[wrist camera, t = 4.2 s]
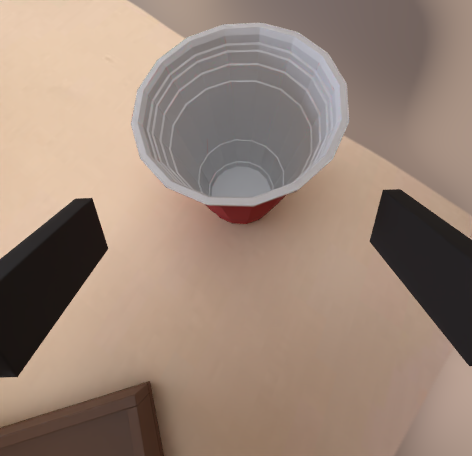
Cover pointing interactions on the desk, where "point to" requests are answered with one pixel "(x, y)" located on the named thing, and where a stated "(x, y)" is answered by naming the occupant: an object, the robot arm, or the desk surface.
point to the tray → (90, 428)
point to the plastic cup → (240, 117)
